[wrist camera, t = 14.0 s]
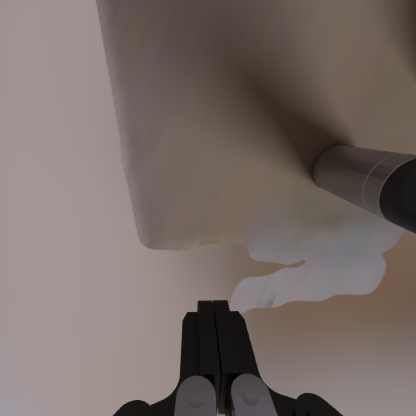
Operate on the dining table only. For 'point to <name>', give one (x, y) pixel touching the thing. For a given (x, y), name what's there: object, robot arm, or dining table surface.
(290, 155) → the dining table surface
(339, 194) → the robot arm
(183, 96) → the dining table surface
